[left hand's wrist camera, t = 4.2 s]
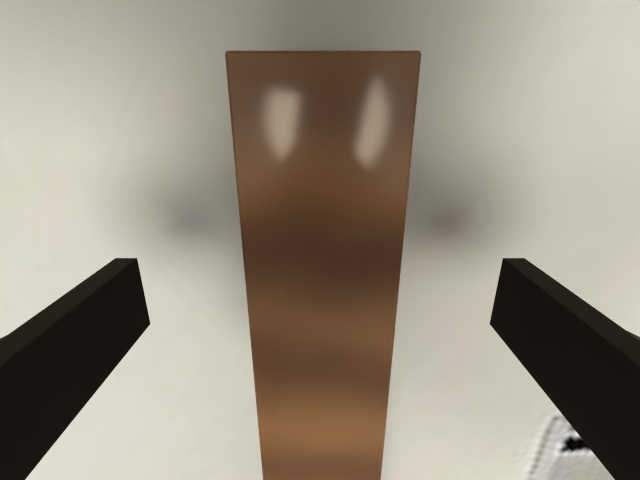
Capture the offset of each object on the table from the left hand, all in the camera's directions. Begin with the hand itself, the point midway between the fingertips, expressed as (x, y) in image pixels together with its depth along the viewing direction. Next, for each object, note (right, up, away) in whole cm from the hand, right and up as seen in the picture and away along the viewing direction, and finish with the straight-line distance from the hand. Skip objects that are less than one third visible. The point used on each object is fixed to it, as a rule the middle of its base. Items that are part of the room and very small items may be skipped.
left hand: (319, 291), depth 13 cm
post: (0, -27, +18) cm, 32 cm away
